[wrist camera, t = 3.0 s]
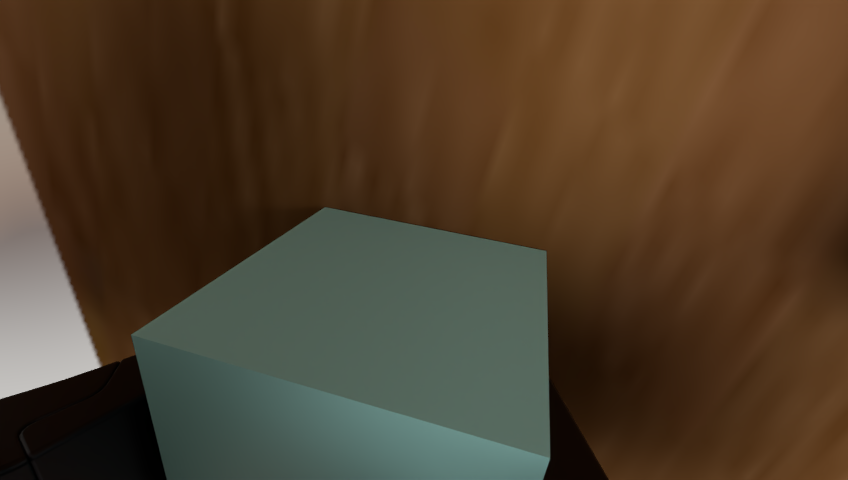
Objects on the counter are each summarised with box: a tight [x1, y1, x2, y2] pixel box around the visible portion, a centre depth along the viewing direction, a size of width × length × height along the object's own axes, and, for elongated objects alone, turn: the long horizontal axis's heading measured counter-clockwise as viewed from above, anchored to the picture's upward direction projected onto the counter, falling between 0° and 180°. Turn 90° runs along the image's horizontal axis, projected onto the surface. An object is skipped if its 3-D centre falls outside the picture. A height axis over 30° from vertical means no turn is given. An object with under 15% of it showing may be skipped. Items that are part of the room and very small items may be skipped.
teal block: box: [131, 207, 550, 480], centre depth 8 cm, size 5×5×5 cm
